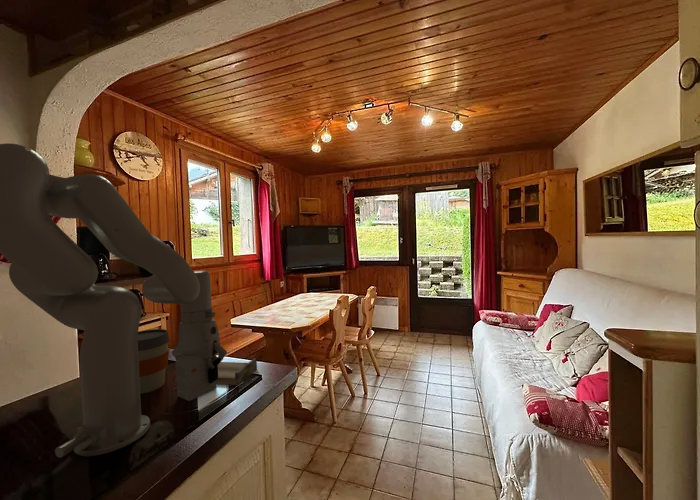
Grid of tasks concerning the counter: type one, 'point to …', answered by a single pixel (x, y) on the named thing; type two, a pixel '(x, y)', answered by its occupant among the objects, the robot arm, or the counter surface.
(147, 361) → the reusable coffee cup
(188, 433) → the counter surface
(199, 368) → the small box
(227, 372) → the shelf board
